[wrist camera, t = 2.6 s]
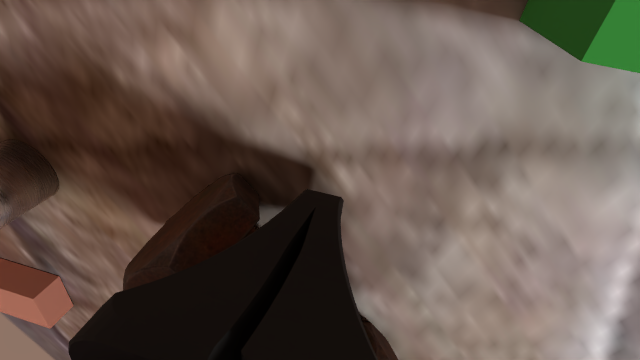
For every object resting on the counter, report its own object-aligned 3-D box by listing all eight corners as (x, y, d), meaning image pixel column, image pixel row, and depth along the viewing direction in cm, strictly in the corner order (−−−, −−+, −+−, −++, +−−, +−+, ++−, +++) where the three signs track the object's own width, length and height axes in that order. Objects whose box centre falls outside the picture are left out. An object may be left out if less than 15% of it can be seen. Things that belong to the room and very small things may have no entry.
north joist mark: (73, 305, 24) (50, 328, 22) (13, 286, 24) (-13, 307, 23) (59, 276, 22) (33, 299, 21) (-6, 256, 23) (-35, 277, 21)
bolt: (394, 354, 21) (215, 173, 16) (470, 388, 17) (257, 157, 12) (342, 455, 18) (110, 275, 13) (415, 526, 14) (115, 301, 9)
